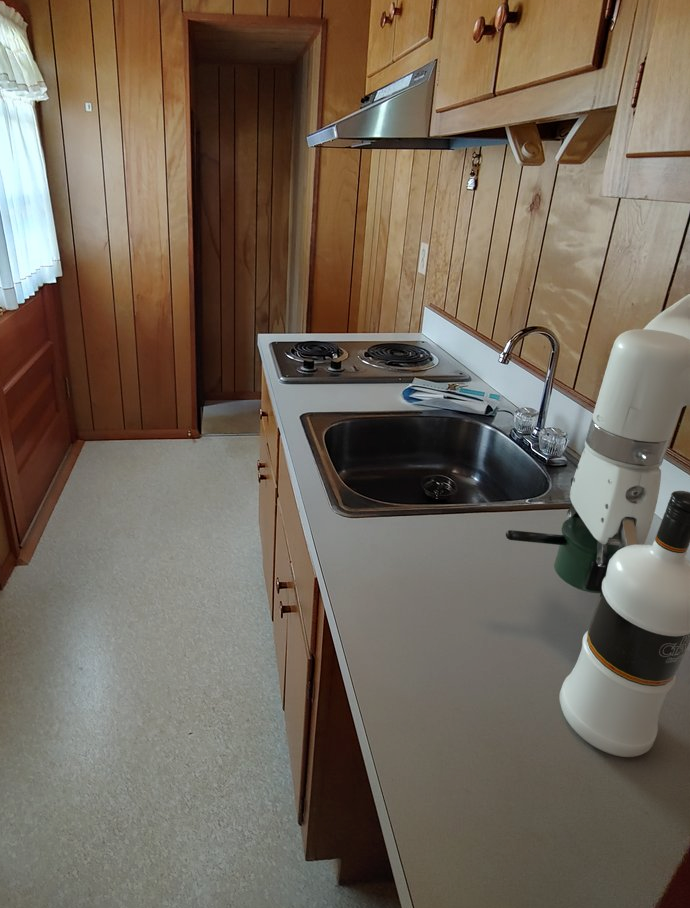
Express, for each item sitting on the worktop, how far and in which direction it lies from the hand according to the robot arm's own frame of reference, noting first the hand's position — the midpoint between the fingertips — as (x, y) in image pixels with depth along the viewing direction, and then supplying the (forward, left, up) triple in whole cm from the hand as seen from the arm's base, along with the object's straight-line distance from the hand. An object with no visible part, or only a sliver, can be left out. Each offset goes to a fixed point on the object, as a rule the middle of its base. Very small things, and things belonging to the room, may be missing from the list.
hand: (585, 566), depth 68 cm
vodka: (0, +12, -12) cm, 17 cm away
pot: (+3, 0, -1) cm, 3 cm away
